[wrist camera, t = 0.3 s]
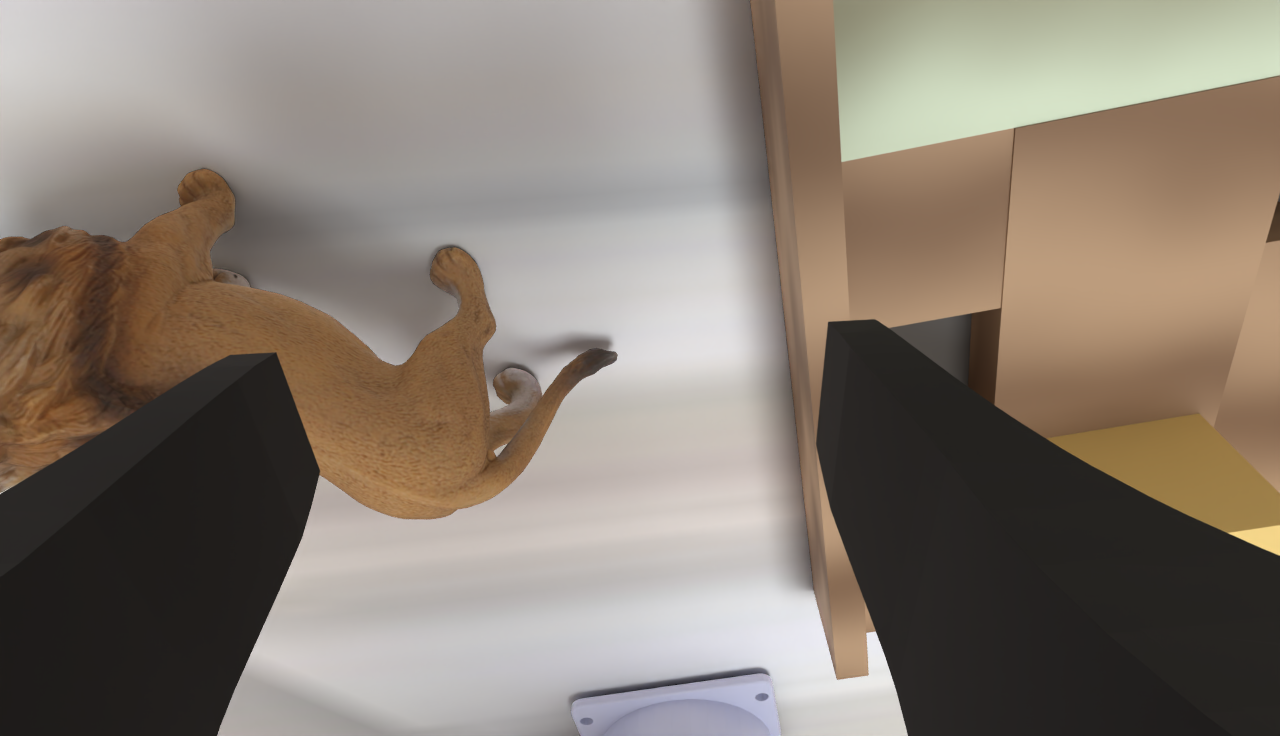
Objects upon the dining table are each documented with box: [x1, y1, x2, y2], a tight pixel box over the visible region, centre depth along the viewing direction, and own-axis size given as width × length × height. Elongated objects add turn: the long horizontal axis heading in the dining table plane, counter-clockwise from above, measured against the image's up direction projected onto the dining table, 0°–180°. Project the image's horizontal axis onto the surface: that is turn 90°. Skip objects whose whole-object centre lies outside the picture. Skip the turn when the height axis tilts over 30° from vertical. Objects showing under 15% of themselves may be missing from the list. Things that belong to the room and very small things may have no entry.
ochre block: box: [1046, 414, 1280, 556], centre depth 21 cm, size 5×5×4 cm
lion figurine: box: [0, 169, 617, 519], centre depth 17 cm, size 15×5×9 cm, turn 75°
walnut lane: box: [750, 0, 1280, 680], centre depth 19 cm, size 23×16×4 cm
